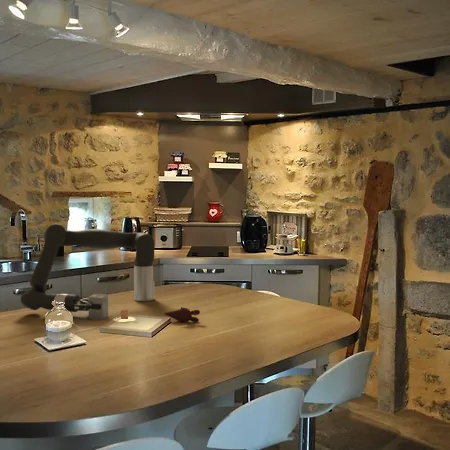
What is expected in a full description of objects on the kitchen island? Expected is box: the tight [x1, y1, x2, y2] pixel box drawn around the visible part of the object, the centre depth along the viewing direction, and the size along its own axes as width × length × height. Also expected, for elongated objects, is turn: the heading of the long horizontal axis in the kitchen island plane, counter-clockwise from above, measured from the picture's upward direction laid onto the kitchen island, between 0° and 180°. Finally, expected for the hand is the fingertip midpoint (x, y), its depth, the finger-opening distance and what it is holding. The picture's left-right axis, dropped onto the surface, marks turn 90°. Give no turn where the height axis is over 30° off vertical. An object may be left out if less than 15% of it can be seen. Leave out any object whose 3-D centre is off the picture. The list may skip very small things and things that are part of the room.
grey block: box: [88, 293, 109, 321], centre depth 223 cm, size 6×6×10 cm
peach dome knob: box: [120, 308, 129, 319], centre depth 222 cm, size 3×3×4 cm
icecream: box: [163, 306, 201, 323], centre depth 220 cm, size 7×7×15 cm
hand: (103, 305), depth 222 cm, fingers closed on grey block, 6 cm apart
